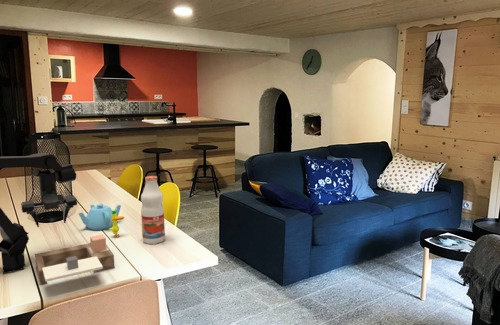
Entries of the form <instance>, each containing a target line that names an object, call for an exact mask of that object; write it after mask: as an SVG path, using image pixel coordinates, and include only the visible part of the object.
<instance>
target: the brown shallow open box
mask: <svg viewBox="0 0 500 325" xmlns="http://www.w3.org/2000/svg"><path fill="white" fill-rule="evenodd" d="M73 256H76V257H77V259H78V260H81V259H86V258H91V257H95V256H97V258H98V259H99V261H100V263H101V264H102V266H103V269H99V270H95V271H93V273H97V272H102V271H105V270H106V271H107V270H111V269H114V268H115V266H116V265H115V254H114V253H113V251H112V250H111V249H110V248H109V246H108V245H107V244H106V250H102V251H98V252H93V251H92V249H91V242H90V243H86V244H85V243H84V244H81V245H74V246H68V247H64V248H58V249H55V250H53V249H52V250H49V251H43V252H38V253H34V258H35V259H34V260H35V268H36V272H37V276H38V281H39V285H40V286H41V285H47V284H48V281H47V282H46V281H45V278H44V274H43V270H42V268H44V267H48V266H53V265H58V264H63V263H67V261H66V258H69V257H73Z"/></svg>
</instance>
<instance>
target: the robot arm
mask: <svg viewBox="0 0 500 325" xmlns="http://www.w3.org/2000/svg"><path fill="white" fill-rule="evenodd" d="M28 167H29V168H36V169H35V171H34V172H32V174H31V176H34V177H36V178H37V177H38V182H39V183H38V185H39V195H40V202H34V201H33V200H29V201H27V200H26V201H22V202H21V203H20V206H21V207H20V208H21V212H22V213H26V214H27V215H30V216H31V217H32V219H33V221H34V222H35V225H36V226H37V228H39V227H40V226H39V224H40V223H39V221H38V220H39V219H38V216H37V212H36V208H44V210H45V211H49V210H53V209H54V210H57V209H59V208H60V206H61V205H63V206H62V207H63V208H62V209H63V217H62V218H63V223H64V224H65V223H67V218H68V214H69V213H70V210H72V208H74V207H75V206H77V205H78V201H77V198H76V196H74V195H67V196H66V195H64V194H62V193H61V194H58V191H57V183H58V184H65V183H69V182H74V181H75V180H76V179H77V173H76V170H75V168H74V167H73V164H68V163H67V164H66V165H65V164H64V165H61V164H60V163H59V161H57V158H56V156H55V155H54V154H53V153H51V154H50V153H47V152H38V153H33V154H30V155H25V156H24V155H23V156H18V155H17V156H16V155H15V156H0V169H10V168H11V169H12V168H28ZM41 169H42V170H41ZM28 235H29V232H27V231H26V229H25V228H24V226H23V225H22V224H19V223H16V222H12V221H11V219H10V218H9V217H8V215H7V214H6V213H5V212H4V211H3V208H2V207H0V236H1V238H2V239H1V241H0V253H1V262H2V273H3V274H7V273H12V272H17V271H21V270H25V266H26V262H25V261H26V260H25V259H26V258H25V251H26V247H27V245H28V242H29V240H30V238H29V236H28Z"/></svg>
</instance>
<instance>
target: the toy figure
mask: <svg viewBox="0 0 500 325" xmlns="http://www.w3.org/2000/svg"><path fill="white" fill-rule="evenodd" d="M124 219H125V216H119V215H118V217H117V212H116V210H115V209H112V219H111V220H112V221H113V227H111V228H109V230H110V231H111V232H112V233H113V234H114V238H119V237H120V236H121V235H120V234H118V233H119V231H120V227H119V225H118V221H123V220H124Z"/></svg>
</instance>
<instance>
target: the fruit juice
mask: <svg viewBox="0 0 500 325" xmlns="http://www.w3.org/2000/svg"><path fill="white" fill-rule="evenodd" d="M144 180H145V185H144V188H143V190H142V191H143V192H142V193H141V195H140V201H141V204H142V205H141V207H140V208H141V210H140V211H141V213H140V215H141V216H140V218H141V233H142V239H141V240H142V243H145V244H147V245H155V244H160V243H163V242H164V241H165V239H166V238H165V237H166V236H165V235H166V233H165V232H166V230H165V229H166V228H165V226H166V225H165V208H164V205H163V201H164V195H163V193H162V191H161V189H160V186H159V184H158V176H157V175H148V176H145V179H144Z"/></svg>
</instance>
